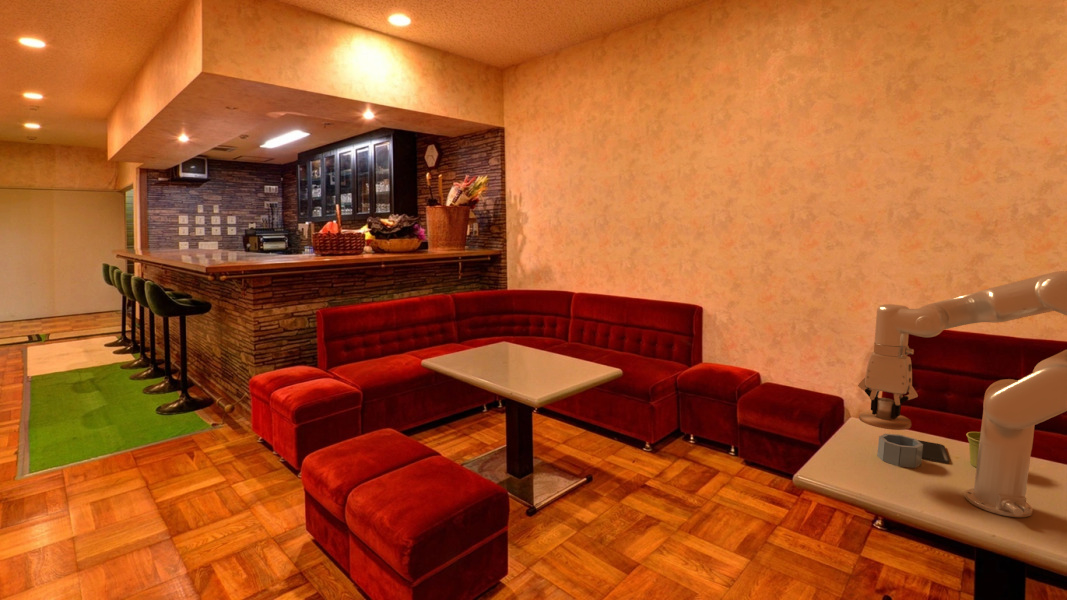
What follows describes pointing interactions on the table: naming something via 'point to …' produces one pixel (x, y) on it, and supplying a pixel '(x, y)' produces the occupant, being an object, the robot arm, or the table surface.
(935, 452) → the phone
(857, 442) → the table surface
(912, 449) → the bowl
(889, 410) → the lid
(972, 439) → the plant pot
